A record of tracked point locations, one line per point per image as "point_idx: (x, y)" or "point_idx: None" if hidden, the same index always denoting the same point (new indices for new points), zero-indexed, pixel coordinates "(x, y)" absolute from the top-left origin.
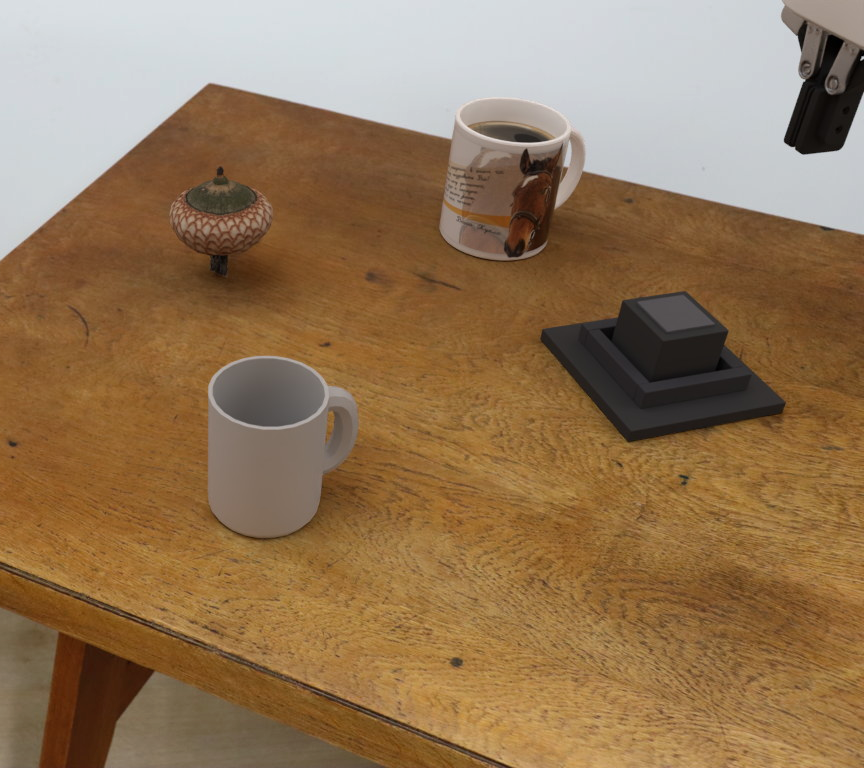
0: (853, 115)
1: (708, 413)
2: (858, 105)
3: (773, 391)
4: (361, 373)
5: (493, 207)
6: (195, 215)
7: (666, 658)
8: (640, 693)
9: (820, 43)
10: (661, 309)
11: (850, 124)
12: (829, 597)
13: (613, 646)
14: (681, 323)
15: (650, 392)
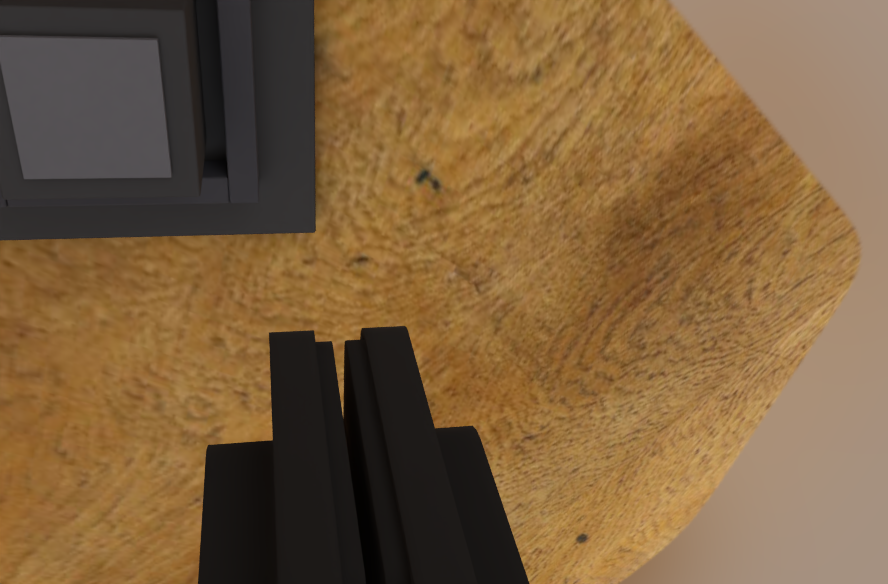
0: (505, 524)
1: (303, 59)
2: (448, 487)
3: None
4: (42, 528)
5: None
6: None
7: (680, 363)
8: (699, 406)
9: None
10: (70, 140)
11: (495, 486)
12: (717, 118)
13: (639, 406)
14: (141, 125)
15: (257, 190)
